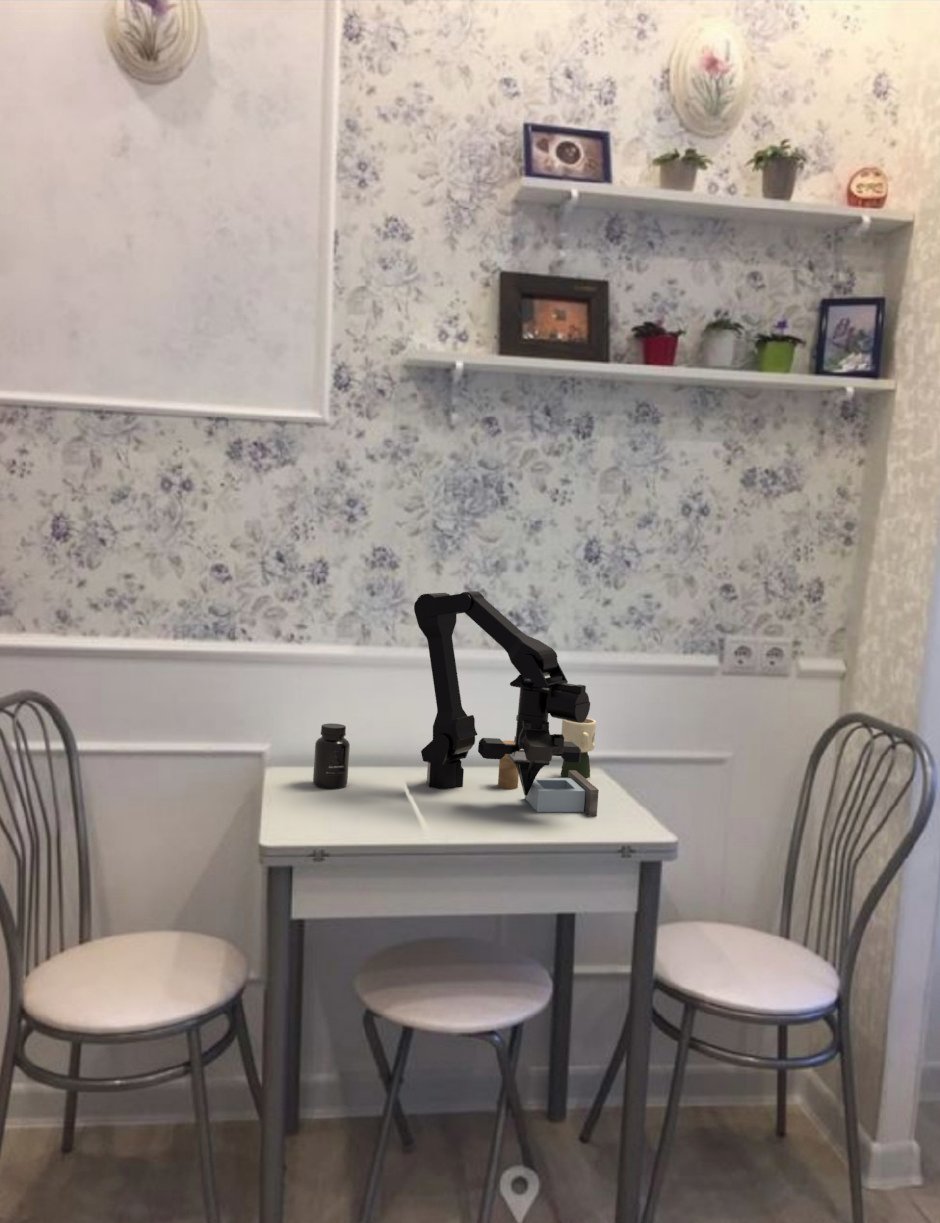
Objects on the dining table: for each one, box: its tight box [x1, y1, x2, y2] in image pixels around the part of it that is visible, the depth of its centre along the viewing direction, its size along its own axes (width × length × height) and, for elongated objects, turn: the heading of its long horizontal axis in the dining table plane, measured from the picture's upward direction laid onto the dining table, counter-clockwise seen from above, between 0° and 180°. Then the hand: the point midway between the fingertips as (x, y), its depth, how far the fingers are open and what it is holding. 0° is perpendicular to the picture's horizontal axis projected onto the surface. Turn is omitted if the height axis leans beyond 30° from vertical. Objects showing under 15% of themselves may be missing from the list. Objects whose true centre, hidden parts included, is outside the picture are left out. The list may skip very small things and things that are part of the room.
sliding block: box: [524, 777, 585, 813], centre depth 195 cm, size 9×9×4 cm
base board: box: [568, 770, 599, 817], centre depth 194 cm, size 18×14×6 cm
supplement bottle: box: [312, 722, 351, 790], centre depth 204 cm, size 7×7×12 cm
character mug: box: [560, 717, 597, 780], centre depth 218 cm, size 11×7×13 cm, turn 13°
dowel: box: [497, 740, 520, 790], centre depth 206 cm, size 4×4×10 cm
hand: (525, 794), depth 193 cm, fingers closed
